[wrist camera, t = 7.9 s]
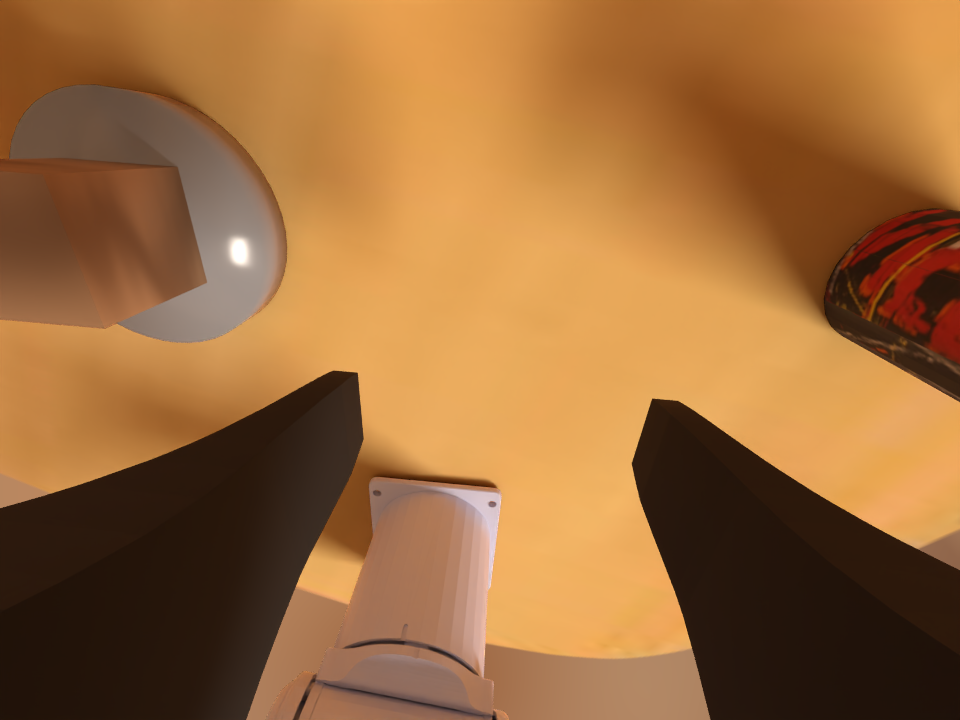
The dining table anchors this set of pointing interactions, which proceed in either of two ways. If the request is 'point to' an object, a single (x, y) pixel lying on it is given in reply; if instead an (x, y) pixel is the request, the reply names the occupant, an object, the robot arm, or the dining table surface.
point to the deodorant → (904, 296)
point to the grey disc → (208, 190)
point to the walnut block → (92, 240)
